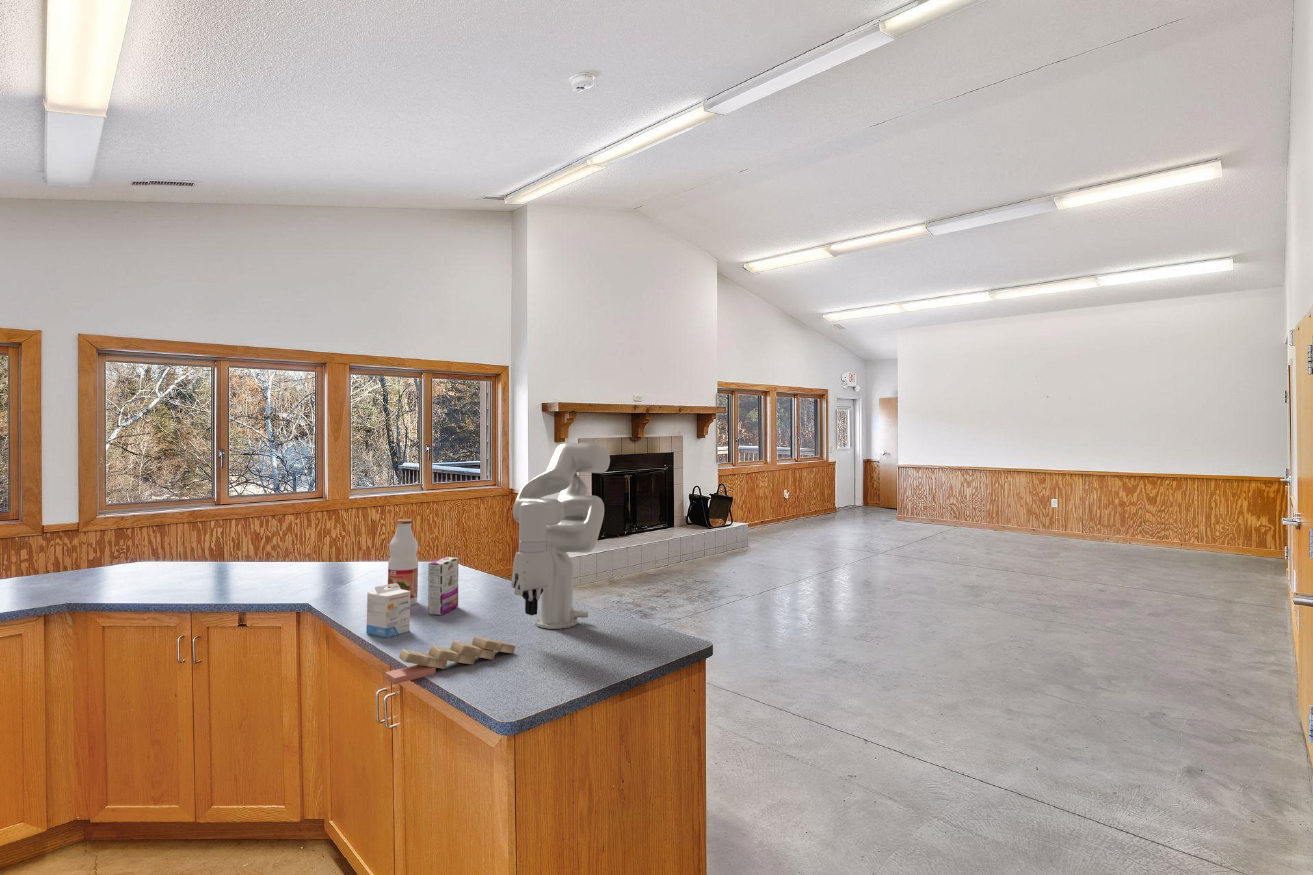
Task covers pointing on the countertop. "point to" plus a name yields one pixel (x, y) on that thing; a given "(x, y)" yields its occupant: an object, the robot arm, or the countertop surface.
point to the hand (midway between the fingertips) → (531, 613)
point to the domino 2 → (409, 673)
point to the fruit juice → (404, 559)
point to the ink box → (388, 611)
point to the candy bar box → (442, 586)
